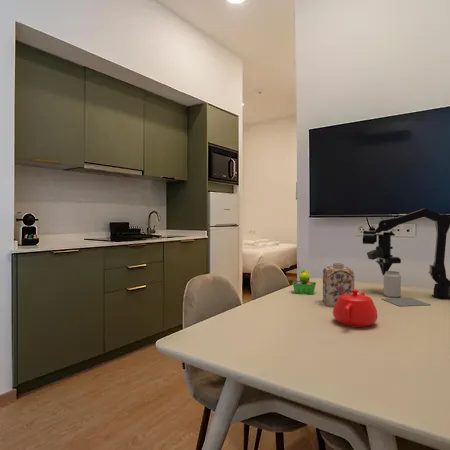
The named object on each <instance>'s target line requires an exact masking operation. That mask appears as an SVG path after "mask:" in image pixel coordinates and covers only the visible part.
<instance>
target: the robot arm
mask: <svg viewBox="0 0 450 450" xmlns="http://www.w3.org/2000/svg"><path fill="white" fill-rule="evenodd" d="M423 217H424V218H426V219H429V220H431V221H433V222H434V225H435V231H436V235H435V236H436V239H435V250H434V251H435V252H434V261H433V264H429V271H428V274H429V275H430V277H431V278H432V280H434V282H435V283H434V284H433V285H434V286H433V294H431V297H434V298H438V299H440V300H449V299H450V279H448V278H447V270H446V266H445V265H446V264H445V258H446V257H445V255H446V248H447V247H446V243H447V235H448V231H449V229H450V215H449V214H446V213H438V212H435V211H432V210H431V209H429V208H421V209H419V210H415V211H413V212H410V213H406V214H404V215H400V216H398V217H397V216H396V217H392V218H385V219H381V220H380V221H379V222H378V226H377V228H375V230H374V231H372V230H363V232H362V244H363V245H375V243H377V242H378V243H377V244H378V245H376V247H375V249H372V250H370V251H367V252H366V256H367V259H368V260H372V261H373V260H375V262H376V263H377V264H378V265H379V268H380V270H381V273H382V276H384V274H385V273H386V271H390V268H391V267H392V265H393V264H402V259H401V257H398V256H394V255H392V250H393V249H394V247H393V246H392V245H391V243H392V236H393V237H394V236H395V235H396V234H395V233H394V232H393V231H392V230H393V229H394V228H395V227H397V226H399V225H402V224H405V223H408V222H409V223H410V222H412V221H415V220H418V219H421V218H423Z"/></svg>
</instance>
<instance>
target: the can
mask: <svg viewBox="0 0 450 450" xmlns="http://www.w3.org/2000/svg"><path fill="white" fill-rule="evenodd" d="M401 282H402V276H401V274H400V272H399V271H395V270H388V271H386V273H385V274H384V275H383V295H384V296H385V297H387V298H400V297H401V295H402V293H401V291H402V290H401V289H402V287H401V286H402V285H401V284H402V283H401Z"/></svg>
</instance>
